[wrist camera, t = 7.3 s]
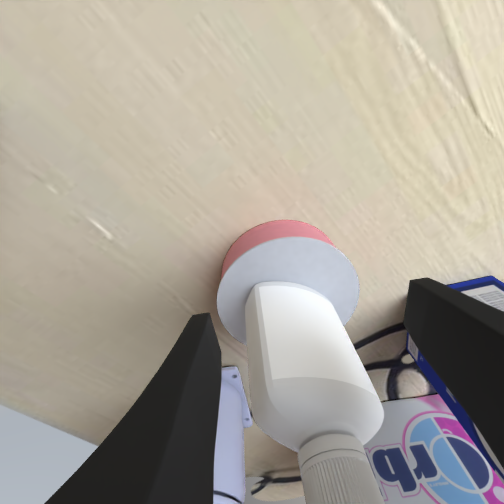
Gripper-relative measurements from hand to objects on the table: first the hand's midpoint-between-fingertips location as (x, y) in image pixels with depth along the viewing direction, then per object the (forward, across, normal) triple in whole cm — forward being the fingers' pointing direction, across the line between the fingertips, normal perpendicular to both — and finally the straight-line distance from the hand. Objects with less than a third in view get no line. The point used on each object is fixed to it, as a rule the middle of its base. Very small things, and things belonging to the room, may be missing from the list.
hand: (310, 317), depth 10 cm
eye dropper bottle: (+7, 0, +5) cm, 8 cm away
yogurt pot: (+10, 0, +5) cm, 11 cm away
